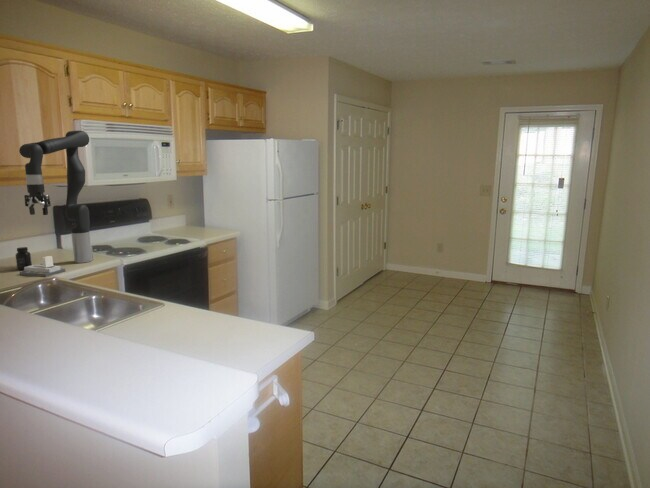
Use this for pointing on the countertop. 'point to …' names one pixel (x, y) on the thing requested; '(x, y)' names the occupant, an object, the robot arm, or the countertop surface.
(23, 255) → the supplement bottle
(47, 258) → the fader
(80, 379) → the countertop surface
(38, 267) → the console
